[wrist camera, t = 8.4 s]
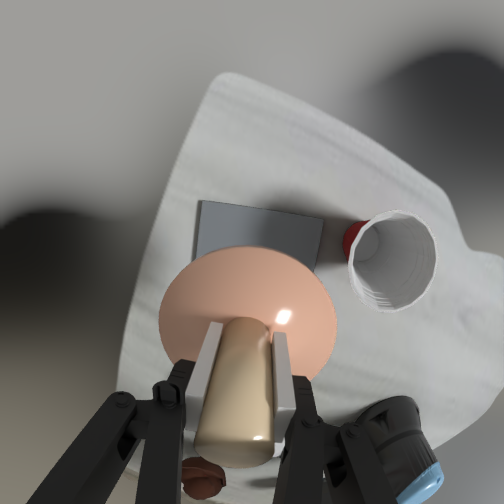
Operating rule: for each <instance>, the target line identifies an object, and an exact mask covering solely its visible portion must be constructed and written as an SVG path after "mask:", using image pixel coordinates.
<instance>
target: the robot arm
mask: <svg viewBox="0 0 504 504" xmlns="http://www.w3.org/2000/svg"><path fill="white" fill-rule="evenodd" d="M222 330H223V323H217V322H211V323H210V326H209V329H208V331H207V334H206V337H205V340H204V342H203V345H202V348H201V351H200V353H199V356H198V359H197V362H195V361H190V360H185V359H180V360H179V361H177V362H176V363H175V365H174V367H173V369H172V371H171V373H170V376H169V377H168V380H167V381H160V382H158V383H156V384H155V385H154V386H153V388H152V390H153V399H152V400H136V399H135V398H134V396H133V395H131V394H130V393H128V392H124V391H119V392H115V393H113V394H111V395H110V396H109V397H108V398H107V400H106V401H105V402H104V403H103V405H102V406H101V407H100V408H99V410H98V411H97V412H96V413H95V415H94V416H93V417H92V418H91V420H90V421H89V422H88V424H87V425H86V426H85V427H84V429H83V430H82V431H81V432H80V434H79V435H78V436H77V438H76V439H75V440H74V441H73V442H72V444H71V445H70V446H69V448H68V449H67V450H66V452H65V453H64V454H63V456H62V457H61V458H60V459H59V460H58V462H57V463H56V465H55V466H54V467H53V468H52V470H51V471H50V472H49V474H48V475H47V476H46V478H45V479H44V480H43V482H42V483H41V484H40V486H39V487H38V488H37V490H36V491H35V492H34V494H33V495H32V496H31V498H30V499H29V500H28V502H27V503H26V504H105V503H106V501H107V499H108V497H109V496H110V494H111V492H112V490H113V489H114V487H115V485H116V483H117V482H118V480H119V478H120V476H121V474H122V473H123V471H124V469H125V467H126V466H127V464H128V462H129V460H130V459H131V457H132V455H133V453H134V451H135V450H136V448H137V446H138V444H139V443H140V441H141V439H146V440H145V445H144V450H143V456H142V462H141V468H140V474H139V480H138V487H137V494H136V501H135V504H181V503H180V500H181V474H182V455H183V439H184V432H183V431H184V428H185V430H189V431H193V432H196V431H197V428H198V424H199V420H200V416H201V412H202V410H203V406H204V402H205V398H206V394H207V390H208V386H209V383H210V379H211V375H212V371H213V367H214V364H215V360H216V356H217V352H218V348H219V345H220V341H221V337H222ZM271 352H272V377H273V405H274V439H275V443H282V442H283V440H284V438H285V446H284V448H283V450H282V452H281V455H280V457H279V458H281V462H280V468H279V473H278V478H277V484H276V489H275V494H274V499H273V503H272V504H421V503H422V502H424V501H425V500H426V499H428V498H429V497H430V496H431V495H432V494H434V493H435V492H436V491H437V490H438V489H439V487H440V486H441V485H442V483H443V480H444V476H443V473H442V470H441V468H440V463H439V462H438V461H437V459H436V457H435V455H434V453H433V451H432V449H431V447H430V445H429V444H428V442H427V440H426V438H425V436H424V434H423V432H422V430H421V422H420V416H419V408H418V406H417V404H416V403H415V401H414V400H413V399H412V398H410V397H407V396H398V397H393V398H390V399H387V400H384V401H382V402H380V403H378V404H376V405H374V406H373V407H371V408H370V409H368V410H367V411H366V412H364V413H363V414H362V415H361V416H360V417H359V418H358V420H357V421H356V422H355V423H346V424H344V425H342V426H341V428H340V427H335V426H331V425H328V424H326V423H324V422H323V420H322V418H321V417H320V416H318V415H317V411H316V406H315V401H314V396H313V392H312V387H311V382H310V381H309V380H308V379H307V377H306V376H298V375H292V373H291V365H290V358H289V351H288V344H287V337H286V333H284V332H276V331H274V333H273V337H272V342H271ZM323 470H324V474H325V477H326V478H323Z"/></svg>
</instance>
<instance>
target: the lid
mask: <svg viewBox="0 0 504 504" xmlns="http://www.w3.org/2000/svg"><path fill="white" fill-rule="evenodd" d="M211 322H217V323H223V330H222V337H221V341H220V345H219V348H218V352H217V356H216V360H215V364H214V367H213V371H212V375H211V379H210V383H209V386H208V390H207V394H206V398H205V402H204V406H203V410H202V412H201V416H200V420H199V424H198V428H197V431H196V435H195V439H194V448H195V450H196V452H197V453H198V454H199V455H200V456H201V457H203V458H204V459H206V460H207V461H209V462H211V463H214V464H216V465H220V466H224V467H229V468H251V467H256V466H259V465H262V464H264V463H266V462H268V461H269V460H270V459H271V458H272V457H273V455H274V453H275V439H274V405H273V377H272V352H271V342H272V337H273V333H274V331H276V332H284V333H286V337H287V344H288V351H289V358H290V365H291V373H292V375H298V376H306V377H307V379H308V380H309V381H310V380H312V379H313V378H314V377H315V376H316V375H317V374H318V373H319V372H320V370H321V369H322V368H323V367H324V365H325V364H326V362H327V360H328V359H329V357H330V355H331V353H332V350H333V348H334V344H335V340H336V334H337V318H336V313H335V308H334V306H333V303H332V300H331V298H330V296H329V294H328V292H327V291H326V289H325V287H324V286H323V284H322V282H321V281H320V280H319V278H318V277H317V276H316V275H315V273H314V272H312V271H311V270H310V269H309V268H308V267H307V266H306V265H305V264H303V263H302V262H300V261H299V260H298V259H296V258H294V257H292V256H290V255H288V254H286V253H284V252H281V251H279V250H276V249H273V248H268V247H264V246H257V245H234V246H228V247H223V248H220V249H216V250H213V251H210V252H208V253H206V254H204V255H202V256H200V257H198V258H197V259H195V260H194V261H192V262H191V263H190V264H189V265H187V266H186V267H185V268H184V269H183V270H182V271H181V272H180V273H179V274H178V275H177V277H176V278H175V279H174V280H173V281H172V283H171V284H170V286H169V287H168V289H167V291H166V292H165V295H164V297H163V300H162V302H161V307H160V311H159V332H160V337H161V341H162V344H163V346H164V349H165V351H166V353H167V355H168V357H169V359H170V360H171V362H172V363H173V364H174V365H175V363H176V362H177V361H179V360H180V359H185V360H190V361H195V362H197V359H198V356H199V353H200V351H201V348H202V345H203V342H204V340H205V337H206V334H207V331H208V329H209V326H210V323H211Z"/></svg>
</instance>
